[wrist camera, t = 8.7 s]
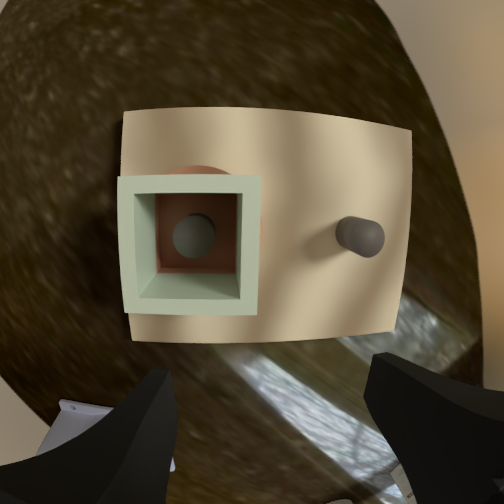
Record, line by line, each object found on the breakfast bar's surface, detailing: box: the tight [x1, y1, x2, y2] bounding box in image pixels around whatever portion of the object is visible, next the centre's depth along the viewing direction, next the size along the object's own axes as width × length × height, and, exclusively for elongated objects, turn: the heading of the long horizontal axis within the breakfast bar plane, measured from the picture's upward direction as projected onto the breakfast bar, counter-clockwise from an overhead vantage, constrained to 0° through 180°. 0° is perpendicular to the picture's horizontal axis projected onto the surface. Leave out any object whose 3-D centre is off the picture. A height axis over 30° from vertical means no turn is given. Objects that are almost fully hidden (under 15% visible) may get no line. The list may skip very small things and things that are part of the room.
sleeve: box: [117, 174, 262, 315], centre depth 14 cm, size 6×6×5 cm
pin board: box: [121, 107, 412, 343], centre depth 16 cm, size 18×14×4 cm
